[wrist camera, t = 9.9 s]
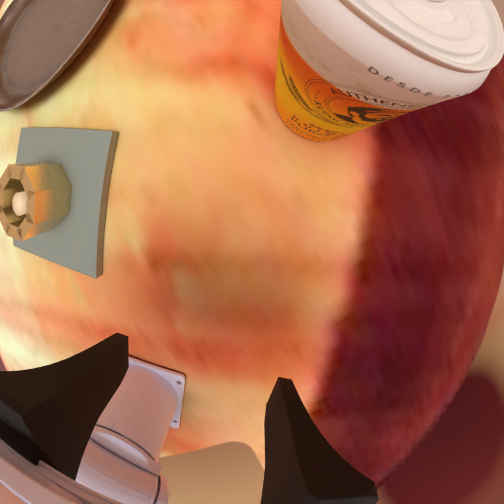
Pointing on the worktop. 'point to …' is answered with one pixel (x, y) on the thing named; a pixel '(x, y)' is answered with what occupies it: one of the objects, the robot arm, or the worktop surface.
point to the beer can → (378, 59)
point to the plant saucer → (43, 43)
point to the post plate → (72, 194)
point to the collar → (34, 198)
